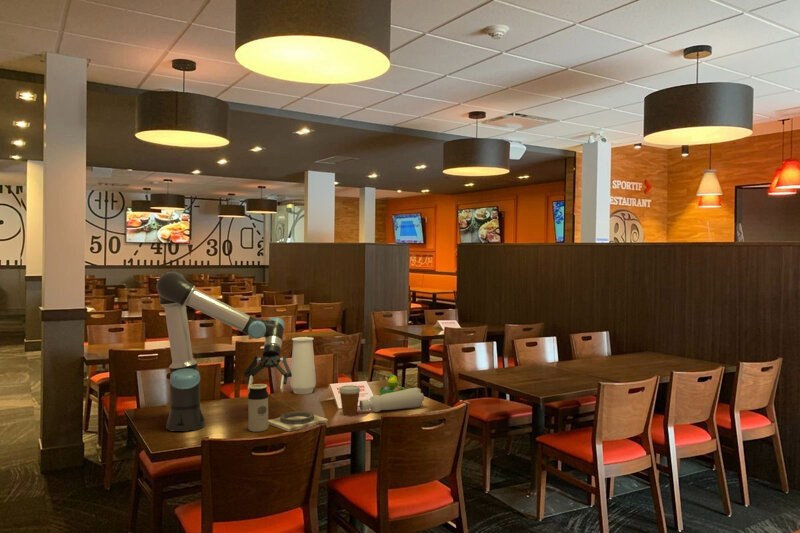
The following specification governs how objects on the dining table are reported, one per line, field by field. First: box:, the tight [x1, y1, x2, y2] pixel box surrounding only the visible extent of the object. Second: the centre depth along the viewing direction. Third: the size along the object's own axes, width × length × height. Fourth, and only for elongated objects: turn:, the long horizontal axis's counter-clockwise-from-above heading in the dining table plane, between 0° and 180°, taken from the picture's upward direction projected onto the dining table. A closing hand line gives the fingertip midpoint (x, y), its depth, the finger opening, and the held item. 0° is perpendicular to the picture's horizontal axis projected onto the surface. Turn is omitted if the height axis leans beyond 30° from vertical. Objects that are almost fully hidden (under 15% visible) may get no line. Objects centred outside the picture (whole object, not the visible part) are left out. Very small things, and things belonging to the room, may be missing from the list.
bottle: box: [358, 387, 425, 413], centre depth 283 cm, size 9×9×30 cm
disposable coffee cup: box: [338, 384, 361, 416], centre depth 276 cm, size 10×10×12 cm
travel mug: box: [247, 383, 269, 433], centre depth 252 cm, size 8×8×18 cm
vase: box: [290, 336, 317, 395], centre depth 318 cm, size 13×13×28 cm
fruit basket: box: [379, 374, 405, 395], centre depth 305 cm, size 11×9×11 cm
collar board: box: [268, 410, 329, 433], centre depth 262 cm, size 20×17×3 cm
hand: (265, 390), depth 258 cm, fingers open, 13 cm apart
